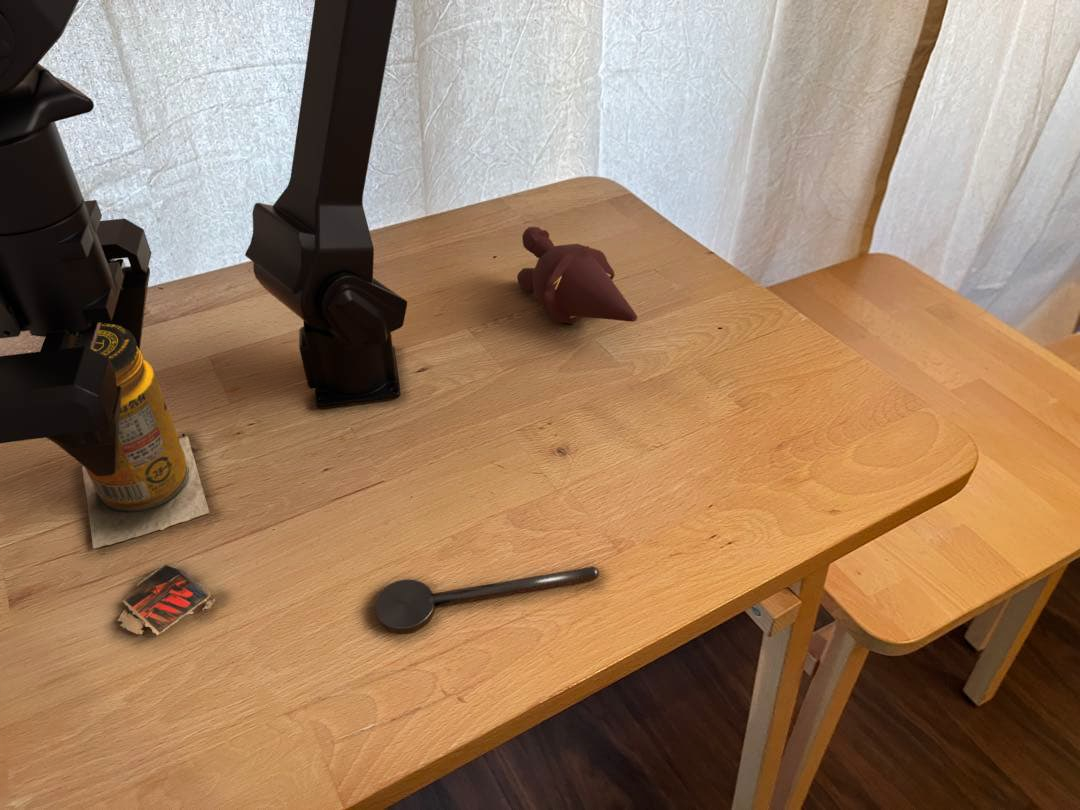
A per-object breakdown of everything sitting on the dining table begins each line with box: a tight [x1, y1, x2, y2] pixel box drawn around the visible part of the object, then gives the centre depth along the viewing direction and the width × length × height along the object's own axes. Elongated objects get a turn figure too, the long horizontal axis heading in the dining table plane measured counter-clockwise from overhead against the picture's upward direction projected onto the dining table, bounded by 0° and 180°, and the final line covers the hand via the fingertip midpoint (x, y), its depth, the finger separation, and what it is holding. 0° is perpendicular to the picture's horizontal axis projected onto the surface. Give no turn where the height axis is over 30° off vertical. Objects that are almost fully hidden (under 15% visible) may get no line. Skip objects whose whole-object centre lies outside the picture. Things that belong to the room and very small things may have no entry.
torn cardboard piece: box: [117, 563, 220, 636], centre depth 53 cm, size 5×5×1 cm
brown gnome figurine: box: [516, 226, 638, 325], centre depth 75 cm, size 7×7×15 cm
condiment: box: [81, 324, 210, 549], centre depth 57 cm, size 7×8×12 cm
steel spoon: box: [374, 566, 600, 635], centre depth 54 cm, size 14×4×1 cm, turn 102°
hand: (118, 424), depth 57 cm, fingers open, 9 cm apart
